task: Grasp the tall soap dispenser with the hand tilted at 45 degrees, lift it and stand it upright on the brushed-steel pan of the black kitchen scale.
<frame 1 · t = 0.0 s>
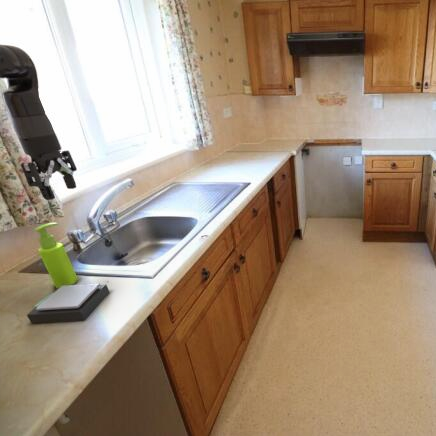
hand: (61, 193, 88), 30 cm above the counter, tool pointing down, fingers open, 8 cm apart
kitchen scale: (73, 307, 92), on the counter
soap dispenser: (68, 282, 103), on the counter
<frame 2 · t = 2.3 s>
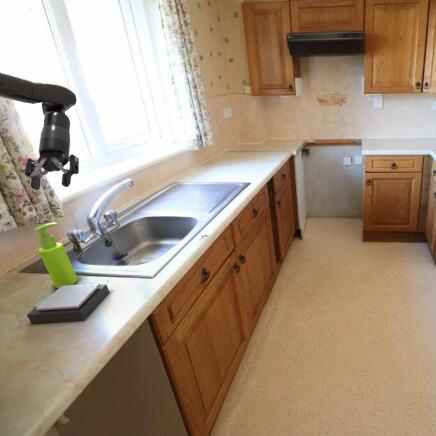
hand: (50, 187, 101), 28 cm above the counter, tool tilted 45°, fingers open, 8 cm apart
nothing on the counter moved.
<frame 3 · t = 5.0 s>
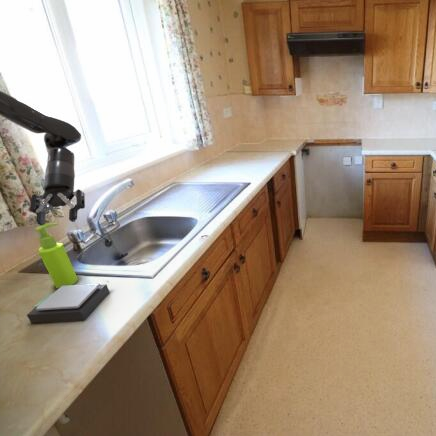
hand: (56, 222, 102), 18 cm above the counter, tool tilted 45°, fingers open, 8 cm apart
nothing on the counter moved.
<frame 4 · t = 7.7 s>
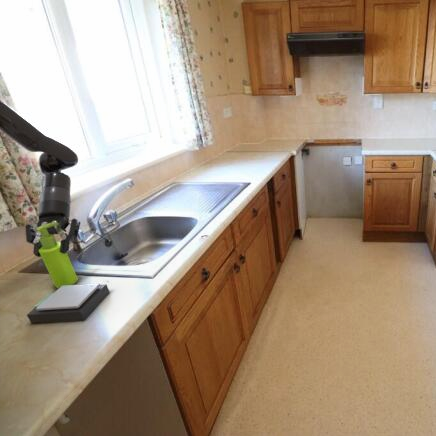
hand: (51, 254, 97), 11 cm above the counter, tool tilted 45°, fingers closed on soap dispenser, 6 cm apart
soap dispenser: (68, 282, 103), on the counter, touching gripper
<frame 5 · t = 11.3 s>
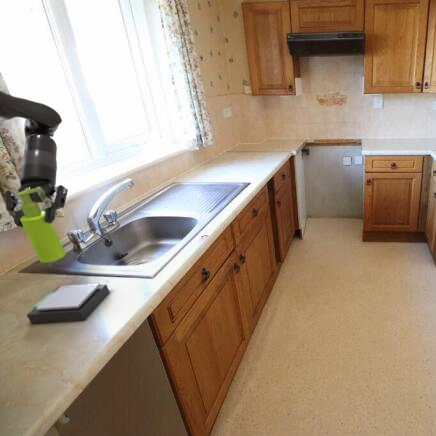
hand: (34, 223, 86), 24 cm above the counter, tool tilted 45°, fingers closed on soap dispenser, 6 cm apart
soap dispenser: (55, 256, 93), point 13 cm above the counter, touching gripper
when the fingers open (15 cm above the counter, at t = 15.3 s): soap dispenser stays where it is, resting on kitchen scale.
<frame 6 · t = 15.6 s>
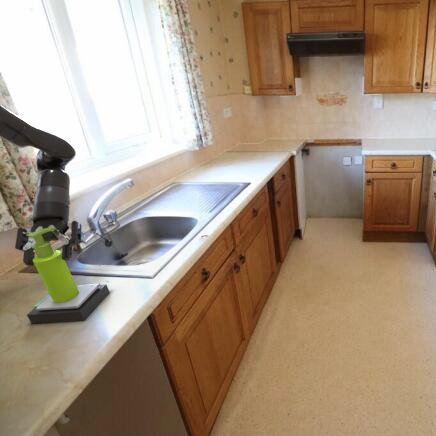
hand: (47, 262, 84), 16 cm above the counter, tool tilted 45°, fingers open, 8 cm apart
soap dispenser: (68, 295, 90), point 4 cm above the counter, touching kitchen scale
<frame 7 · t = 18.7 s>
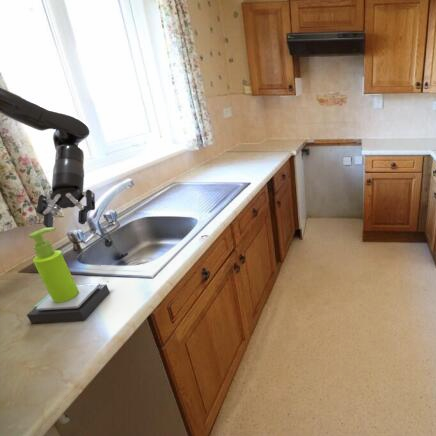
hand: (65, 225, 95), 20 cm above the counter, tool tilted 45°, fingers open, 8 cm apart
nothing on the counter moved.
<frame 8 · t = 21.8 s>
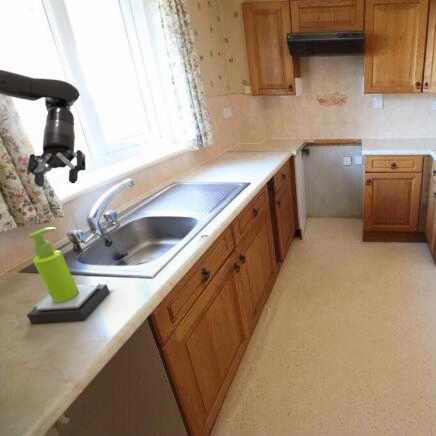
hand: (56, 183, 96), 31 cm above the counter, tool tilted 45°, fingers open, 8 cm apart
nothing on the counter moved.
at the end: soap dispenser inside the target area on the kitchen scale (0.4 cm from its centre), point 3.9 cm above the kitchen scale's base; soap dispenser tilted 0°; the gripper is holding nothing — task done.
